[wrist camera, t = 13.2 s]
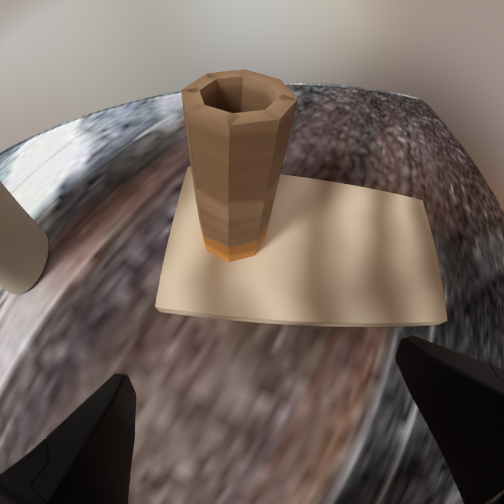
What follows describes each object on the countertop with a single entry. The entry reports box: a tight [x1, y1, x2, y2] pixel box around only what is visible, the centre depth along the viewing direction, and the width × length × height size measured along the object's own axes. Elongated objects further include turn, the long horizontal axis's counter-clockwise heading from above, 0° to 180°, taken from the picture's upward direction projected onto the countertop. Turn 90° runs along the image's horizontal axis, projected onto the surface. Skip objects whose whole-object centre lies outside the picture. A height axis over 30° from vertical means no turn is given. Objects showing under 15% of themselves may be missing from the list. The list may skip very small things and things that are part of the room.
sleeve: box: [181, 70, 297, 262], centre depth 17 cm, size 5×5×13 cm
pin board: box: [155, 167, 447, 327], centre depth 22 cm, size 26×14×5 cm, turn 86°
